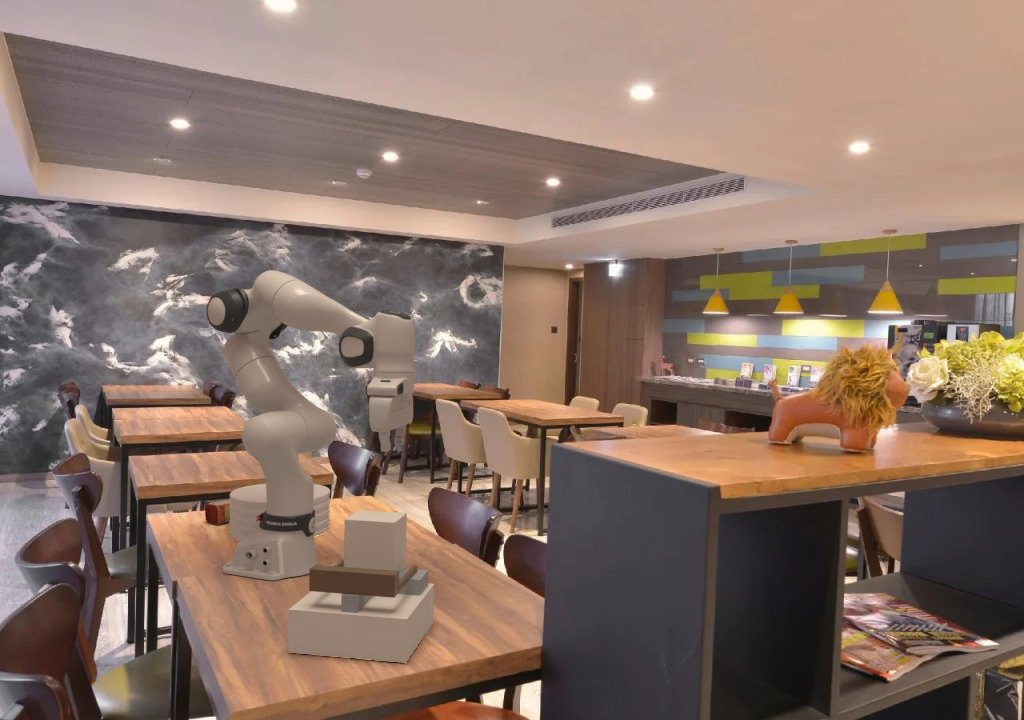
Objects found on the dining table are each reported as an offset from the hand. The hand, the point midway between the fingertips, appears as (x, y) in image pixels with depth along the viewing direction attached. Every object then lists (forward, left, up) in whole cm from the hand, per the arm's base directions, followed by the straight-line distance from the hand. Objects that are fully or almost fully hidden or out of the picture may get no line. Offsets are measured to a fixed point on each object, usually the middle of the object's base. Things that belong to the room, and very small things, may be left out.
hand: (392, 448), depth 160 cm
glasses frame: (+2, -22, -22) cm, 31 cm away
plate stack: (-49, +47, -34) cm, 76 cm away
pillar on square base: (+2, -22, -33) cm, 40 cm away
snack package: (-67, +57, -34) cm, 94 cm away
